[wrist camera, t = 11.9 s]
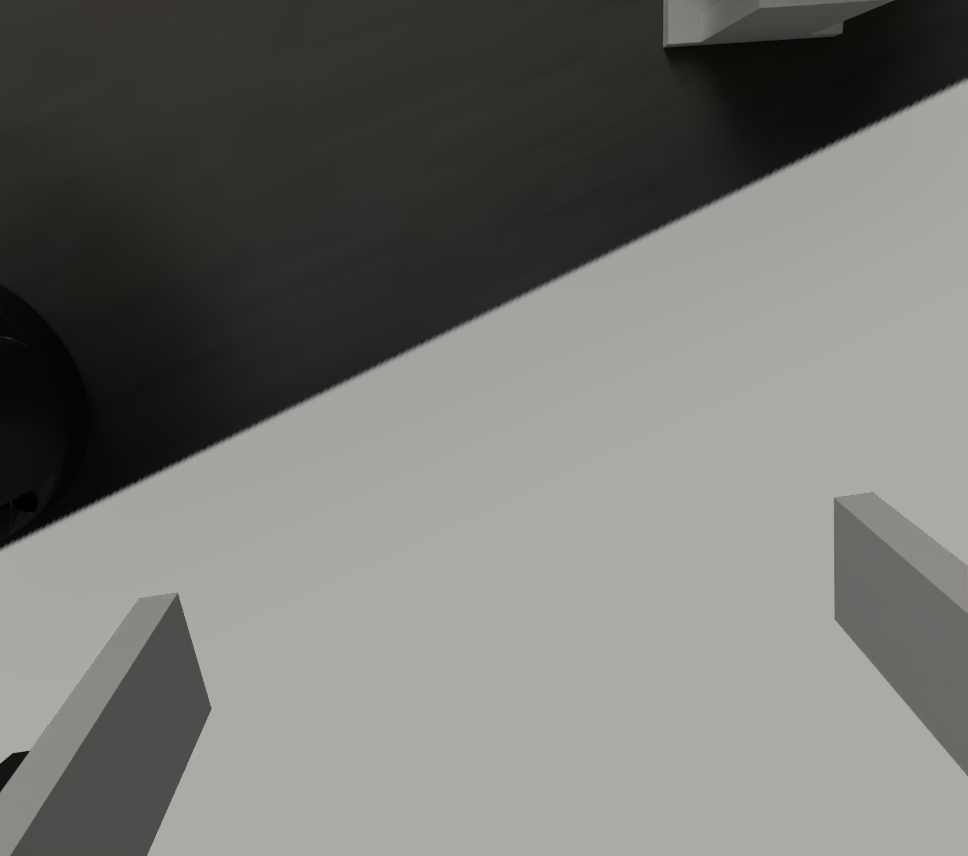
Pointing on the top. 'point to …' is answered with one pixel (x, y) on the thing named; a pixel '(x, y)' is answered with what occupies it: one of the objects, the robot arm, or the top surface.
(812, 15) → the peg stand
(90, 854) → the robot arm
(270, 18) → the top surface
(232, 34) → the top surface
